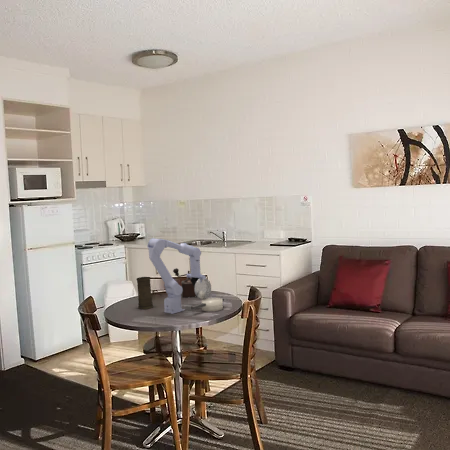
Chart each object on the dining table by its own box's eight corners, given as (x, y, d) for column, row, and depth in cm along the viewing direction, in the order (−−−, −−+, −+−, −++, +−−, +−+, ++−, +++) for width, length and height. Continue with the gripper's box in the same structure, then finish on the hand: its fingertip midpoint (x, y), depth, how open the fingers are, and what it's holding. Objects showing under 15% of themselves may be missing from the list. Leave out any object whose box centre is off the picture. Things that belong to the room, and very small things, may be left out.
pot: (200, 316, 266) (199, 307, 266) (185, 313, 275) (185, 304, 274) (230, 307, 282) (229, 298, 282) (215, 304, 291) (214, 296, 291)
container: (150, 309, 289) (148, 279, 288) (135, 309, 291) (133, 279, 289) (155, 305, 298) (153, 276, 296) (141, 305, 300) (139, 276, 298)
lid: (196, 301, 280) (194, 301, 282) (212, 296, 289) (210, 296, 290) (194, 279, 280) (192, 279, 282) (209, 276, 289) (207, 276, 290)
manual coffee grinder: (198, 293, 326) (196, 266, 324) (198, 296, 315) (196, 269, 313) (174, 295, 325) (172, 268, 323) (174, 298, 314) (172, 270, 312)
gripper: (208, 267, 286) (210, 290, 287) (192, 265, 296) (193, 287, 297) (199, 269, 281) (201, 292, 282) (183, 267, 291) (184, 290, 292)
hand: (196, 290), depth 289 cm, fingers closed
